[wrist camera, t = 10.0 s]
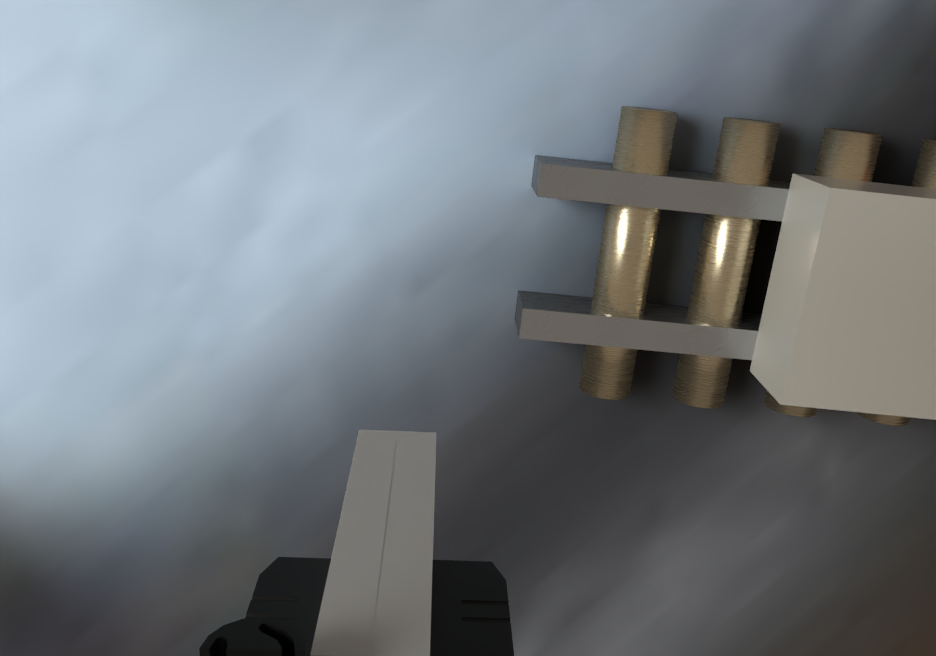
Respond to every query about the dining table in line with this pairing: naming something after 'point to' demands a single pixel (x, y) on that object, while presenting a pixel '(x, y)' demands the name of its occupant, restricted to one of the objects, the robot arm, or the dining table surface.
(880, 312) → the paver
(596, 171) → the rack with metal cylinders
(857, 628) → the dining table surface
